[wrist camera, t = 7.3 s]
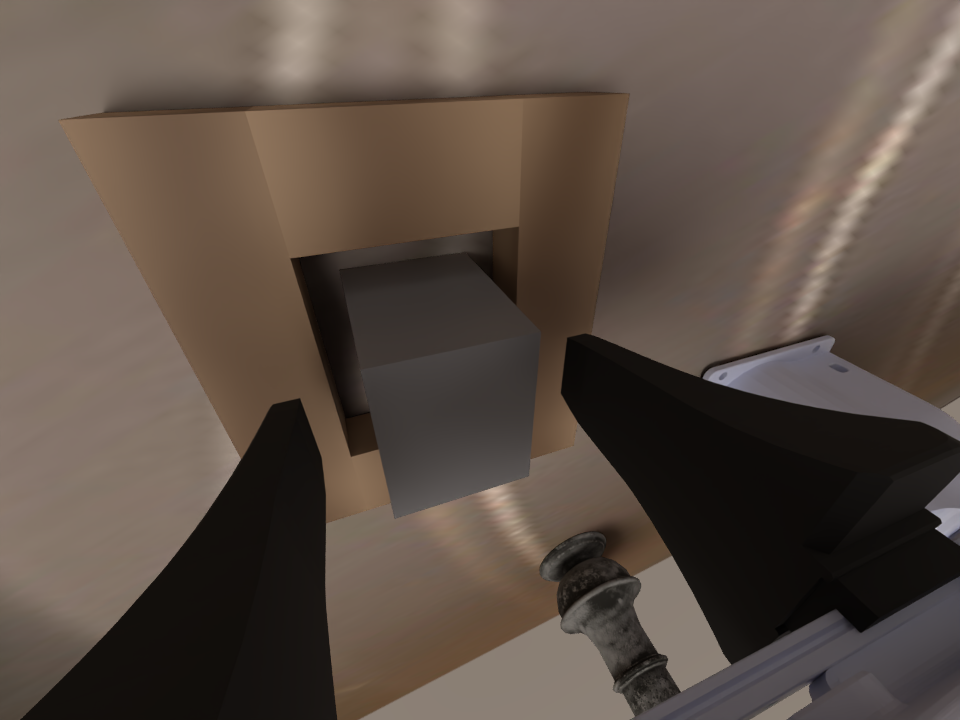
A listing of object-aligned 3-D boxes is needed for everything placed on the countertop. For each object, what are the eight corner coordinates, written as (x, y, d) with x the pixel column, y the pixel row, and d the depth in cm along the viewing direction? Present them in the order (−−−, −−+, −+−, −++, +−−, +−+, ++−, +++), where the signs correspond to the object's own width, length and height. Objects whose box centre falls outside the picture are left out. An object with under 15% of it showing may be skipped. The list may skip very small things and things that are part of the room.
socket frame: (586, 92, 12) (629, 93, 10) (551, 416, 19) (573, 445, 18) (101, 112, 9) (58, 119, 7) (284, 492, 16) (283, 536, 15)
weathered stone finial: (567, 585, 31) (682, 800, 22) (519, 577, 27) (631, 830, 18) (622, 536, 30) (769, 742, 20) (579, 522, 26) (732, 764, 17)
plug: (464, 251, 13) (541, 332, 9) (469, 372, 16) (528, 476, 12) (339, 269, 12) (360, 370, 8) (368, 395, 15) (394, 518, 11)
